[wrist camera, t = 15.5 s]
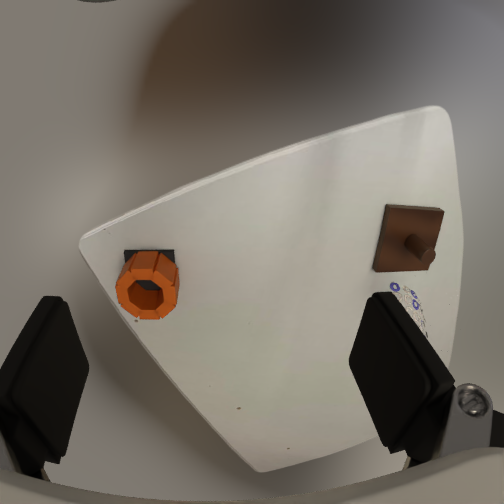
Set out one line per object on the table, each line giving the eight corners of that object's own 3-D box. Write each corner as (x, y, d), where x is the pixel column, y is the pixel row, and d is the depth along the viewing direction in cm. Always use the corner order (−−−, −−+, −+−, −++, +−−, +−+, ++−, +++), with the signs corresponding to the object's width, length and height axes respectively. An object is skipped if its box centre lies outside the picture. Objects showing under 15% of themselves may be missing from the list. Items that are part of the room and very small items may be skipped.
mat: (124, 250, 36) (123, 252, 36) (174, 249, 37) (173, 251, 36) (131, 292, 39) (130, 294, 38) (177, 292, 40) (177, 295, 39)
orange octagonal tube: (120, 251, 35) (111, 268, 32) (176, 250, 36) (173, 268, 33) (128, 299, 39) (122, 318, 35) (180, 299, 39) (178, 319, 36)
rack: (386, 204, 37) (408, 221, 32) (439, 208, 38) (463, 224, 33) (372, 268, 41) (390, 290, 36) (423, 266, 42) (443, 286, 37)
